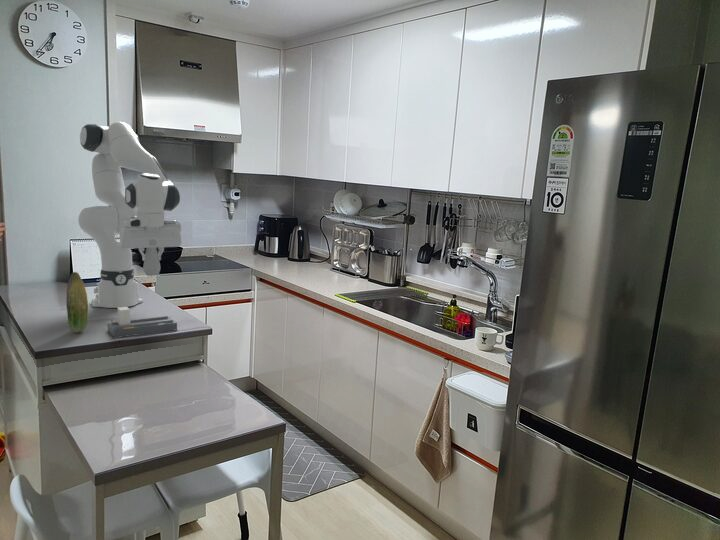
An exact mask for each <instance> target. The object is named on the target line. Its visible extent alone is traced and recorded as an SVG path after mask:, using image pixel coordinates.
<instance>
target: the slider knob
mask: <svg viewBox="0 0 720 540" xmlns="http://www.w3.org/2000/svg"><path fill="white" fill-rule="evenodd" d="M130 320H131V309H130V308H129V307H120V308H117V321H118V324H119V325H128V324H130Z"/></svg>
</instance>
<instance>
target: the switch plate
mask: <svg viewBox="0 0 720 540" xmlns="http://www.w3.org/2000/svg"><path fill="white" fill-rule="evenodd" d="M174 329H177V330H178V322H177V321H175V320H174V319H173V318H171V317H170V316H168V315H162V316H153V317H145V318H144V317H143V318H134V319H130V324H128V325H119V324H118V320H116V321H111V322H110V323H109V322H108V323H107V331H108V333H110V334H111V336H112V337H113V338H114V337H115V338H120V337H119V336H123V337H127V336H126V335H131V336H135V335H134V334H138V335H144V334H143V333H146V334H153V333H152V332H154V333H161V331H162V332H168V330H170V331H175V330H174Z"/></svg>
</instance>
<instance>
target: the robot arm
mask: <svg viewBox="0 0 720 540" xmlns="http://www.w3.org/2000/svg"><path fill="white" fill-rule="evenodd" d="M79 143H80V145H81V147H82V148H83V149H84V150H86V151H89V152H91V153H93V152H95V153H97V154H95V155H94V157H93V158H92V162H91V174H92V181H93V188H94V193H95V196H96V198H97V199H98V200H99V201H100V202H102V203H104V204H106V205H103V206H102V205H96V206H95V205H94V206H89V207H84V208H82V210H81V211H80V212H79V215H78V219H77V220H78V226H79V227H80V229H81V230H82V231H83V232H84V233H85V234H87V235H88V236H90V237H91V238H92V240H94V242H95V243H96V244H97V247H98V249H99V253H100V261H101V269H100V274H99V275H100V276H99V277H100V281H99V283H98V285H97V286H95V287H93V293H94V294H95V295H94V296H93V298H92V305H91V306H92V307H95V308H96V307H97V308H108V309H109V308H111V309H112V308H113V309H116V308H120V307H128V308H129V307H133V306H136V305H138V304H141V303H143V302H144V300H143V298H140V294H139V283H138V282H137V280H135V279H134V277H135V276H134V274H135V271H134V268H133V253H132V252H133V250H132V249H138V251H139V253H140V255H141V257H142V259H141V260H142V261H143V262H144V261H145V260H146V256H145V254H146V253H144V252H145V249H146V248H151V247H155V248H156V247H157V251H158V259H159V261H161V260H162V255H163V253H164V251H165V248H177V247H179V248H180V246H181V245H182V236H181V231H182V224H181V223H180V222H178V221H177V220H165V211H168V212H172V211H173V210H174V209H176V208H177V207H178V206H179V205H180V201H181V196H180V195H181V194H180V192H179V190H178V188H177V186H176V185H175V184H174V183H173V182H172V181H171V179H170V178H169V176H168V175H167V174H166V171H165V170H164V168H163V167H162V166H161V164H160V162H159V161H158V159H157V158H156V157H155V156H154V155H153V154H151V153H149V151H147V150H146V149H145V148H144V147H143V146H142V145H141V141H140V138H139V136H138V134H136V133H135V132H134V130H133V129H132V127H131V126H130V125H129V124H127V123H125V122H122V121H116V122H113V123H111V124H110V125H109V126H108V125H107V126H106V125H99V124H98V125H97V124H96V123H95V124H94V123H93V124H92V123H89V124H87V123H86V124H85V125H84V126H83V127H82V128H81V131H80V134H79ZM122 168H124V169H126V170H131V171H134V172H139V173H140V174H137V179H136V181H134V182H132V183H130V184H129V185H127V186H125V181H124V177H123V172H122ZM116 235H119V241H117V240H116ZM152 239H154V240H156V245H149V240H152Z"/></svg>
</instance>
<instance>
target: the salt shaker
mask: <svg viewBox="0 0 720 540" xmlns="http://www.w3.org/2000/svg"><path fill="white" fill-rule="evenodd" d="M149 245H156V240H154V239H152V240H149ZM158 253H159V251H158V247H156V248H155V247H151V248H145V253H144V254H145V256H146V260H145V261H143V267H142V270H143V272H144V273H145V275H146V276H149V277H152V276H153V277H154V276H158V275H159V274H160V272H161V263H160V260H159V259H158Z"/></svg>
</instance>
